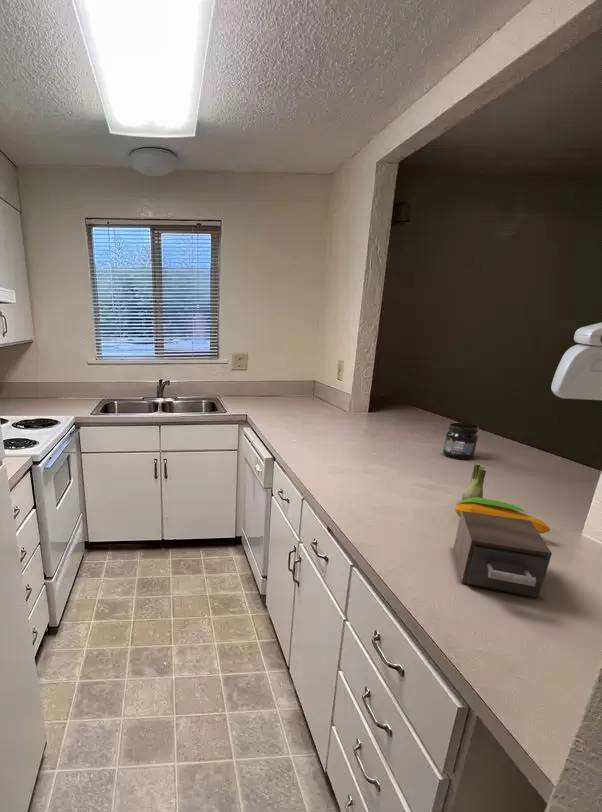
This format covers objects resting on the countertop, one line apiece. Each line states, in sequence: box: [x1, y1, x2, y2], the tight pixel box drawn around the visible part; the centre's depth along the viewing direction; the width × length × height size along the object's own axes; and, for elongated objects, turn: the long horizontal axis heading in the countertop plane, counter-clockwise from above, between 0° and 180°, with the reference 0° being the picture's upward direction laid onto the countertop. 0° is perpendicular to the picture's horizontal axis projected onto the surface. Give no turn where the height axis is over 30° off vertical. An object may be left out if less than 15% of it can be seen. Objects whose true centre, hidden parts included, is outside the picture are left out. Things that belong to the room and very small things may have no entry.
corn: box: [454, 497, 551, 535], centre depth 108 cm, size 7×8×20 cm
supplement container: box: [442, 422, 479, 460], centre depth 165 cm, size 10×10×12 cm
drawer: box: [466, 545, 550, 597], centre depth 86 cm, size 18×12×8 cm, turn 157°
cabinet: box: [452, 511, 553, 599], centre depth 90 cm, size 15×13×10 cm
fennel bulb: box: [461, 462, 487, 501], centre depth 122 cm, size 6×5×12 cm
